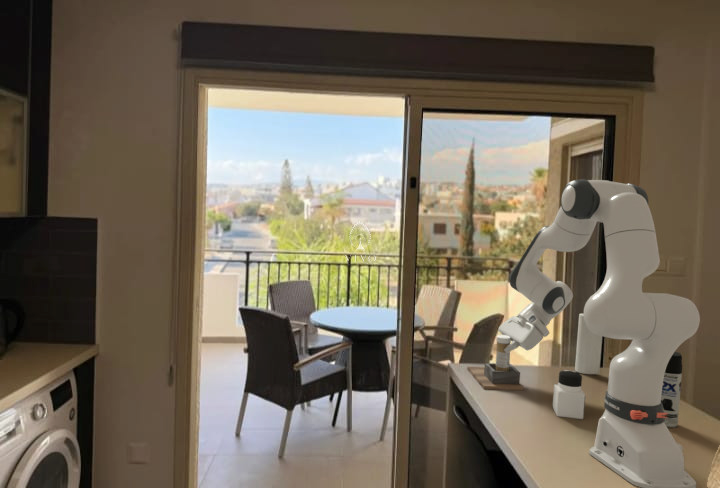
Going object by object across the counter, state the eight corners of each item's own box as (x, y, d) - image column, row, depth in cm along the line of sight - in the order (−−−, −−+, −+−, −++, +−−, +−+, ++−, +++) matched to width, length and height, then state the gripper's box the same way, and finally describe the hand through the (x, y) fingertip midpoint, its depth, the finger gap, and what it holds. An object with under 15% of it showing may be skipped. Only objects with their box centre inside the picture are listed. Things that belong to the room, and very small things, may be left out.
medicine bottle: (583, 419, 140) (587, 377, 139) (556, 416, 141) (559, 374, 140) (578, 410, 147) (581, 369, 146) (552, 407, 148) (555, 367, 147)
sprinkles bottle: (500, 372, 171) (502, 333, 170) (511, 376, 168) (513, 336, 167) (492, 375, 169) (493, 335, 168) (503, 379, 165) (505, 338, 164)
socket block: (523, 390, 161) (524, 374, 161) (483, 388, 161) (484, 373, 160) (502, 370, 181) (503, 356, 181) (467, 369, 181) (468, 355, 180)
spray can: (650, 424, 139) (656, 353, 137) (649, 416, 145) (655, 347, 143) (678, 430, 136) (685, 357, 134) (676, 421, 142) (682, 351, 140)
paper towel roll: (571, 370, 186) (575, 313, 185) (582, 368, 189) (587, 312, 187) (587, 376, 179) (591, 317, 178) (599, 374, 182) (603, 316, 181)
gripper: (512, 307, 178) (484, 334, 177) (539, 320, 158) (508, 351, 157) (523, 320, 179) (495, 347, 178) (552, 335, 158) (520, 365, 158)
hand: (501, 349), depth 167 cm, fingers closed on sprinkles bottle, 4 cm apart
